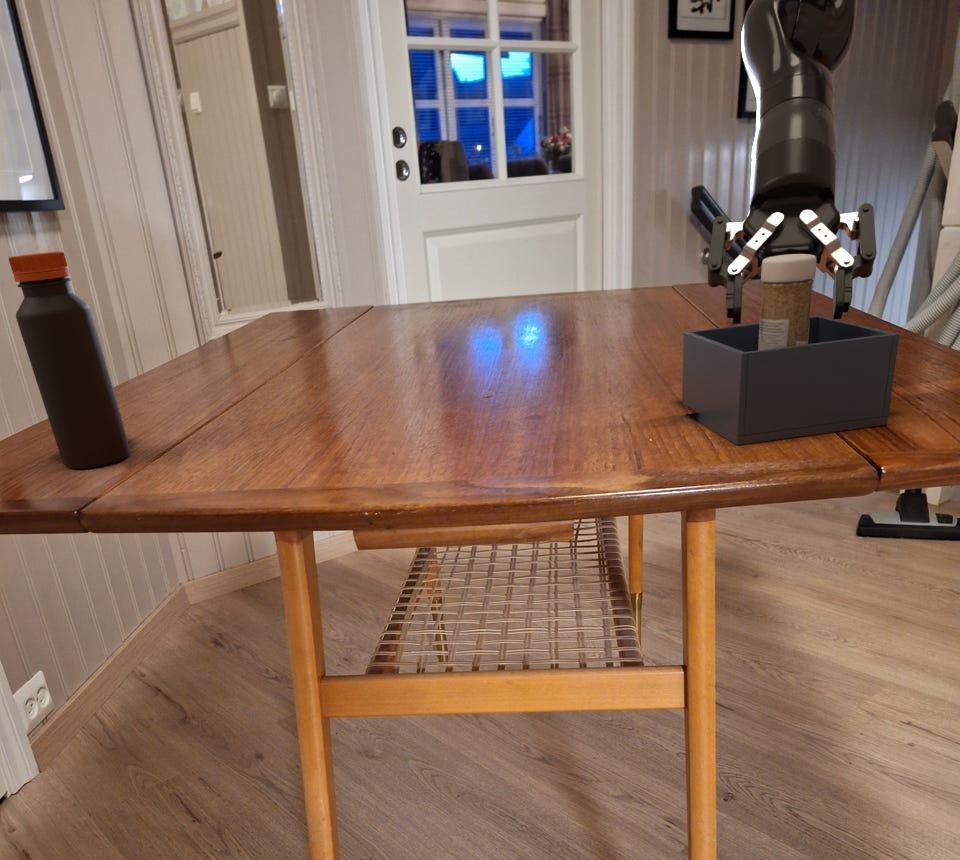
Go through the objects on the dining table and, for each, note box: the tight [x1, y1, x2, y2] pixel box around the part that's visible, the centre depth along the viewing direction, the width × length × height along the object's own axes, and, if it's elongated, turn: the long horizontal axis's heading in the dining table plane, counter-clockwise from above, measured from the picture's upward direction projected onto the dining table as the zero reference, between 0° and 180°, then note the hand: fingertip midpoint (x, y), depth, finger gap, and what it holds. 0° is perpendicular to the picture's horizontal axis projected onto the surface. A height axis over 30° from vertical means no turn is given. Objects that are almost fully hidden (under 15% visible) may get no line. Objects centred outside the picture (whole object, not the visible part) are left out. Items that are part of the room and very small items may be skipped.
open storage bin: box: [681, 315, 900, 446], centre depth 81 cm, size 14×13×8 cm
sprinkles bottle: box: [758, 254, 817, 350], centre depth 79 cm, size 5×5×13 cm
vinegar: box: [7, 250, 131, 470], centre depth 87 cm, size 7×7×20 cm
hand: (787, 316), depth 77 cm, fingers open, 8 cm apart
